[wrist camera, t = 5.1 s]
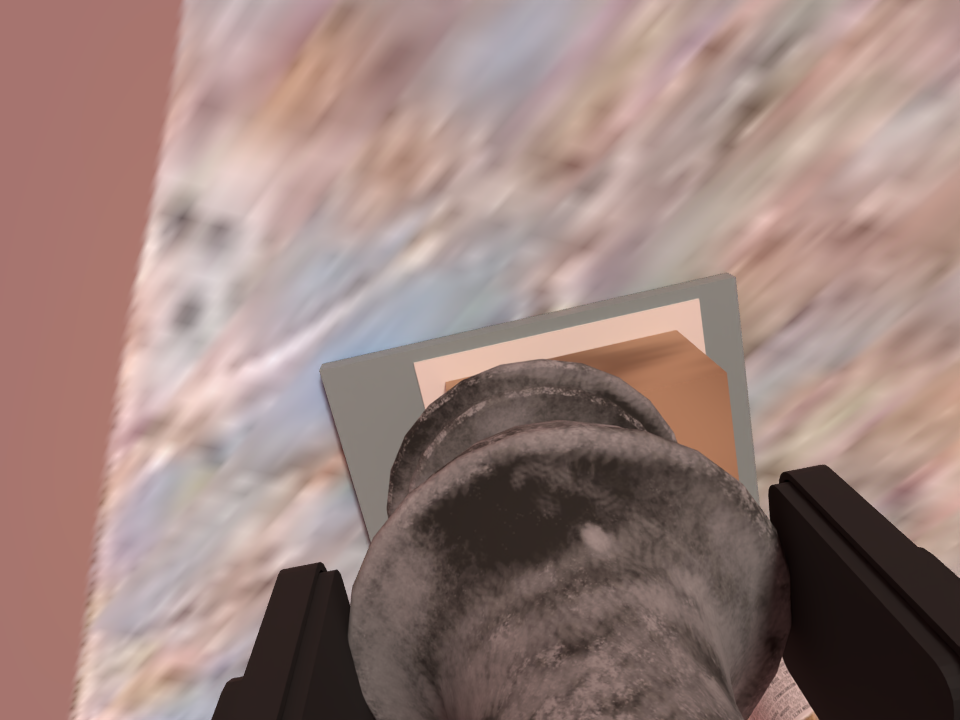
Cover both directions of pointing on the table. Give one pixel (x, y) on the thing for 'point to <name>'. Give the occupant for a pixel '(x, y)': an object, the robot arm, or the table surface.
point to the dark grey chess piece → (564, 563)
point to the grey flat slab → (430, 364)
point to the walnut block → (673, 389)
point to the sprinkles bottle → (783, 700)
